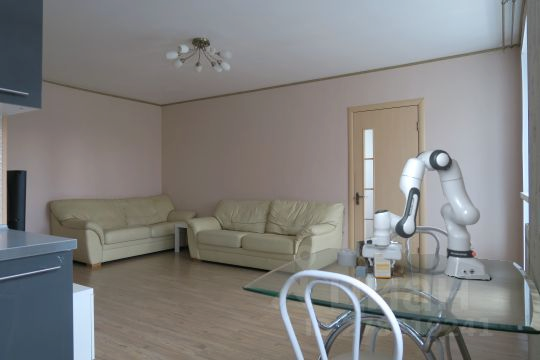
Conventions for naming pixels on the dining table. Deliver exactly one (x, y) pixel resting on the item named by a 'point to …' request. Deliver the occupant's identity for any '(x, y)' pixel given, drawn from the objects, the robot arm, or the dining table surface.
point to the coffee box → (360, 259)
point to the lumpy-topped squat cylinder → (347, 257)
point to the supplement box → (381, 266)
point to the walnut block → (398, 270)
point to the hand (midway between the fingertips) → (381, 266)
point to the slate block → (361, 271)
